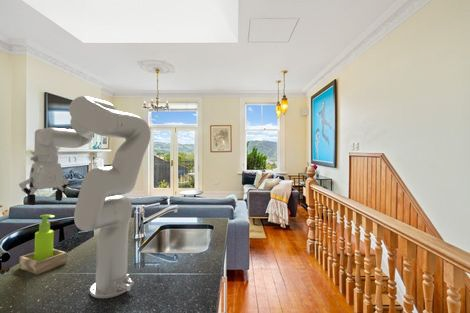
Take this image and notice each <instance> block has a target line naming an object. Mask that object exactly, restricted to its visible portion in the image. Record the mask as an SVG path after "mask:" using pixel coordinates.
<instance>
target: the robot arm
mask: <svg viewBox="0 0 470 313" xmlns="http://www.w3.org/2000/svg"><path fill="white" fill-rule="evenodd" d="M68 109H69V110H68V111H69V115H70V116H71V118H70V126H71V127H70V128H68V129H67V128H62V127H61V128H60V127H59V128H58V127H45V128H38V129H36V130H35V131H34V152H33V153H34V154H33V156H31V157H30V161H31V162H32V161H33V162H34V163H32V164H31V167H30V172H29V177H28V179H26V180H24V181H22V182H20V183H19V184H18V186H19V187H20V189H21V191H22V192H23V193H25V194H26V195H27V197H26V198H27V199H26V200H27V201H26V202H27V204H28V205H30V206H35V205H36V194H35V193H36V191H37V190H45V189H46V190H47V189H55V196H54V197H55V201H58V202H59V201H60V202H61V201H63V193H64V191H65V189H66V188H67V187H68V185H69V182H70V180H69V179H67V178H65V177H63V176H64V175H63V169H62V165H61V163H59V148H66V149H77V148H81V147H83V146H85V145H87V144H89V143H91V142H92V140H93V138H94V135H95V134H96V135H98V136H101V137H109V138H121V139H125V140H124V141H123V142H122V144H120V145H119V146H118V148H117V150H116V151H115V152H114V156H113V160H112V163H111V164H110V165H109V166H97V167H94V168H91V169H90V170H89V171H88V172H87V173H86V174H85V175H84V177H83V179H82V182H81V186H80V189H79V193H78V196H77V200H76V204H75V208H74V214H73V219H74V224H75V226H76V228H78V229H79V230H80V231H83V232H91V231H95V230H98V229H99V231H98V234H97V236H96V237H97V239H96V255H95V258H96V261H95V282H94V283H93V284H92V285H91V286H90V288H89V294H90V295H91V297H93V298H95V299H110V298H111V299H112V298H114V297H117V296H120V295H123V294H124V293H126V292H130V291H131V289H132V286H133V285H134V284H135V281H134V280H132V279H131V278H130V274H129V273H128V256H129V254H128V253H129V252H128V251H129V250H128V249H129V231H130V230H129V227H130V222H131V217H132V213H133V204H132V202H131V200H130V198H129V197H127V196H125V195H126V194H129V193H131V192H133V189H134V188H135V185H136V182H137V179H138V176H139V173H140V169H141V166H142V161H143V159H144V156H145V154H146V151H147V149H148V147H149V144H150V141H151V128H150V126H149V124H148V122H147V121H146V119H144V118H142V117H140V116H138V115H136V114H133V113H130V112H123V111H120V110H118V109H117V107H116V106H115V105H113V104H112V103H111V102H109V101H106V100H104V99H103V100H102V99H98V98H94V97H90V96H86V95H83V96H82V95H80V96H77V97H75V98H73V100H72V101H71V103H70V105H69V107H68ZM71 128H72V129H71ZM27 185H28V187H29V188H28V187H27Z"/></svg>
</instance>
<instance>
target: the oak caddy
mask: <svg viewBox="0 0 470 313" xmlns="http://www.w3.org/2000/svg"><path fill="white" fill-rule="evenodd" d="M34 253H35V251H33V252H31V253H28V254H25V255H21V256H19V257H18V258H19V263H18V265H19V266H18V267H19V268H18V269H21V270H23V271H25V272H28V273H31V274H34V275H39V274H42V273H45V272H48V271H50V270H53V269H55V268H58V267H60V266H63V265H66V264H67V261H68V260H67V259H68V255H67V254H68V253H67V252H66V251H63V250H61V249H60V250H59V249H57V248H53V257H50V258H47V259H44V260H41V261H36V260H34Z"/></svg>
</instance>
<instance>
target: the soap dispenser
mask: <svg viewBox="0 0 470 313" xmlns="http://www.w3.org/2000/svg"><path fill="white" fill-rule="evenodd" d="M55 217H56V216H55V215H54V214H47V213H46V214H41V215H39V218H41V222H39V225H38V231H36V232H35V233H34V252H35V253H34V252H33V253H34V260H36V261H41V260H44V259H47V258H50V257H53V249H54V236H55V235H54V234H55V231H54V230H53V229H51V222H50V221H48V219H51V218H55Z"/></svg>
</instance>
